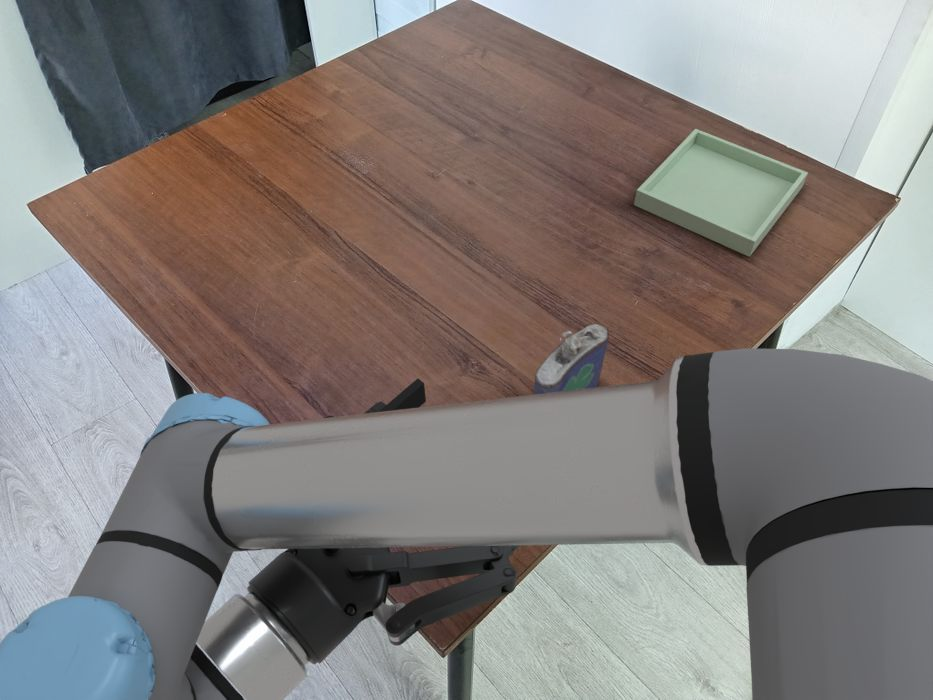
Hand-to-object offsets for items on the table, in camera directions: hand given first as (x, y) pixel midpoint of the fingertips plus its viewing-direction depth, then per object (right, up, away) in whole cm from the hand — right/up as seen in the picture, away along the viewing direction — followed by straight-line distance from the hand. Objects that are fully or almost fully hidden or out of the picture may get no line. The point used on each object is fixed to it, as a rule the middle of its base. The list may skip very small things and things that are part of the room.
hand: (481, 434), depth 63 cm
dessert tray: (+30, +26, +33) cm, 51 cm away
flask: (+8, +1, +14) cm, 16 cm away
